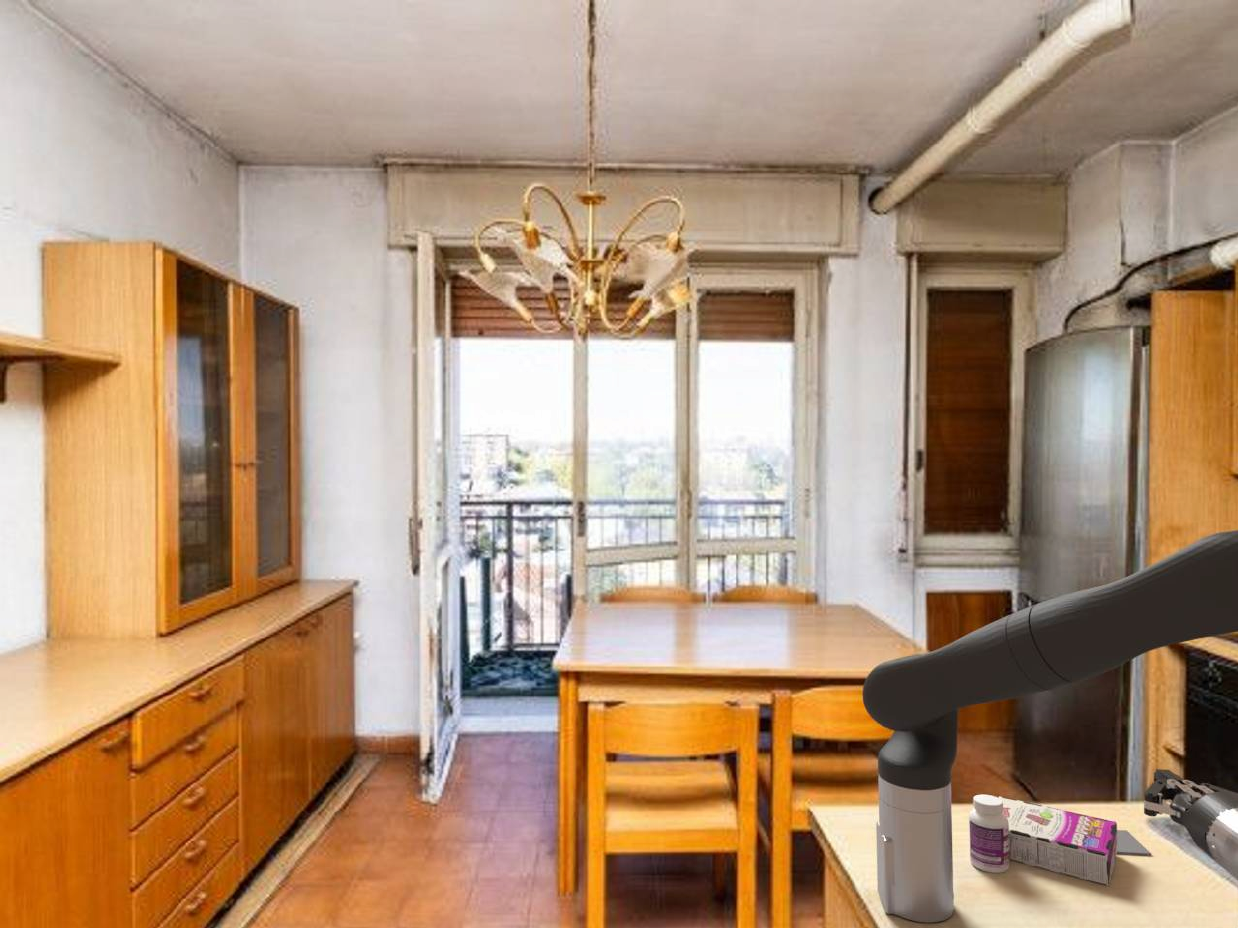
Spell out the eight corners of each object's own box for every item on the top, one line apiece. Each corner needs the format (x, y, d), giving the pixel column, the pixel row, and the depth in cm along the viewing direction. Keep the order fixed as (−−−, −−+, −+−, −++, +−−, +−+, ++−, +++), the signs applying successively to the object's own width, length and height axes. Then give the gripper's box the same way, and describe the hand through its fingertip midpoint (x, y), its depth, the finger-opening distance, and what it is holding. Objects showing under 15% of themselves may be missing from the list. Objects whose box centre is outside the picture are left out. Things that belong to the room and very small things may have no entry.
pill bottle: (1014, 875, 112) (1013, 808, 112) (975, 872, 113) (973, 806, 113) (1003, 857, 117) (1002, 792, 117) (966, 854, 118) (964, 790, 118)
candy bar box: (1118, 853, 117) (999, 823, 127) (1118, 821, 117) (999, 793, 127) (1109, 889, 108) (982, 854, 119) (1109, 854, 108) (982, 821, 118)
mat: (1072, 851, 119) (1072, 849, 119) (1052, 828, 126) (1052, 826, 126) (1151, 855, 117) (1151, 853, 117) (1126, 832, 124) (1126, 830, 124)
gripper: (1317, 812, 83) (1217, 750, 100) (1181, 804, 85) (1106, 745, 102) (1316, 882, 83) (1217, 808, 100) (1180, 872, 85) (1105, 801, 102)
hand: (1161, 776), depth 101 cm, fingers closed
